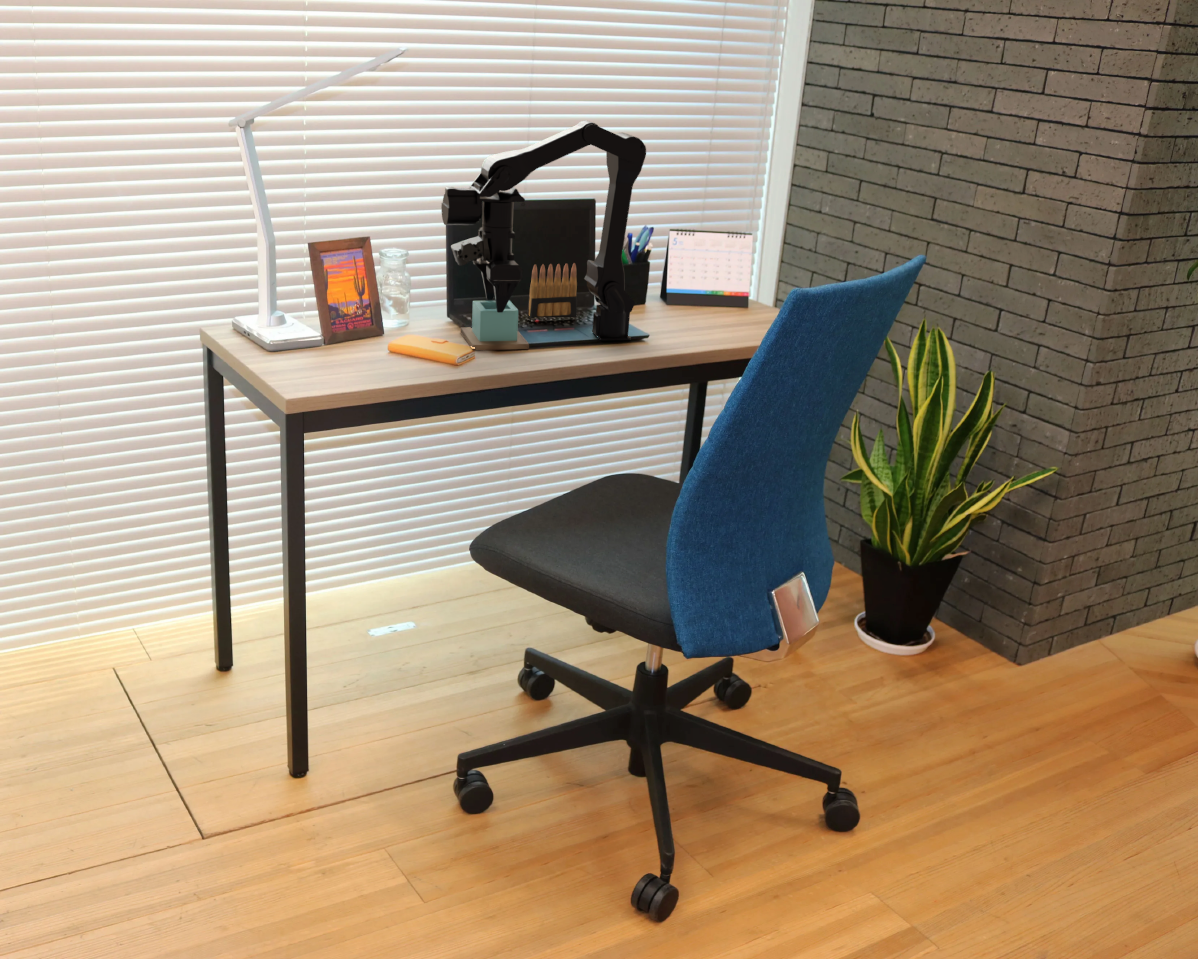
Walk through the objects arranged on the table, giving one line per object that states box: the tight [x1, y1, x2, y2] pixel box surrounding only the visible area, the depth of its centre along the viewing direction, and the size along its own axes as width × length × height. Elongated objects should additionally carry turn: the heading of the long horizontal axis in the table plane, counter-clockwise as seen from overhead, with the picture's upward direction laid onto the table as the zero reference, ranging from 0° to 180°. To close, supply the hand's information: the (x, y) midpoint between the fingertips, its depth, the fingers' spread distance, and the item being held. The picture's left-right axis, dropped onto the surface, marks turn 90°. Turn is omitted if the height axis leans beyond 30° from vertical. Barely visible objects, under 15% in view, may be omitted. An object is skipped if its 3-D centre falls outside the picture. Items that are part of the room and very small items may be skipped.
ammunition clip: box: [526, 262, 578, 318], centre depth 240 cm, size 11×2×12 cm, turn 115°
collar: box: [471, 300, 519, 341], centre depth 223 cm, size 7×7×6 cm
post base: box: [460, 326, 530, 351], centre depth 224 cm, size 11×12×6 cm
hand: (494, 305), depth 222 cm, fingers open, 9 cm apart
